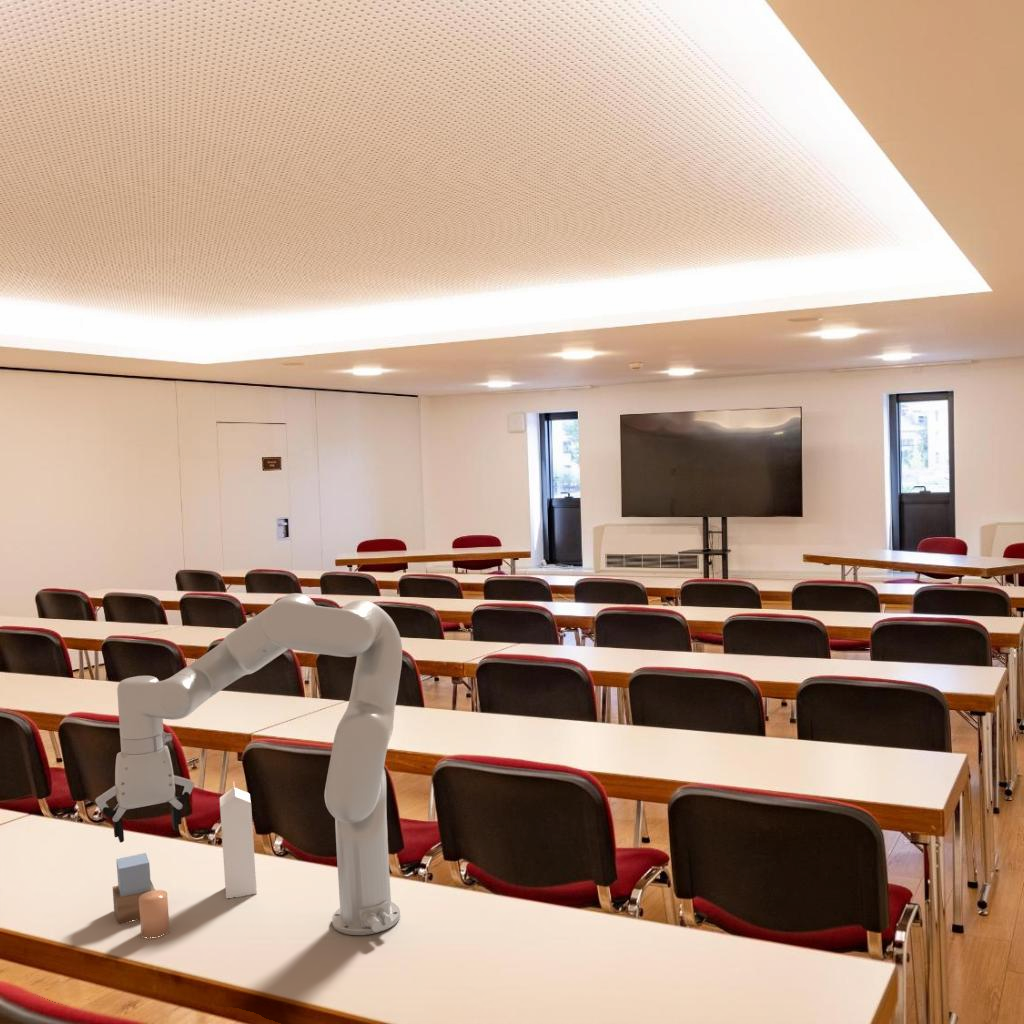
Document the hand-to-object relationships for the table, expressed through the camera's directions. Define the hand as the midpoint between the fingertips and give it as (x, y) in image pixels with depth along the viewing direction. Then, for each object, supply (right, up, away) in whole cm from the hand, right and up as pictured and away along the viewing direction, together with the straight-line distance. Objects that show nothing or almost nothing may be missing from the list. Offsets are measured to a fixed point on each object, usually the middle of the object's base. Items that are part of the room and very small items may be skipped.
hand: (148, 834), depth 185 cm
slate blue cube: (-6, -14, +9) cm, 17 cm away
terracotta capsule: (+1, -19, +1) cm, 19 cm away
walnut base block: (-6, -19, +9) cm, 22 cm away
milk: (+13, -17, +17) cm, 27 cm away
